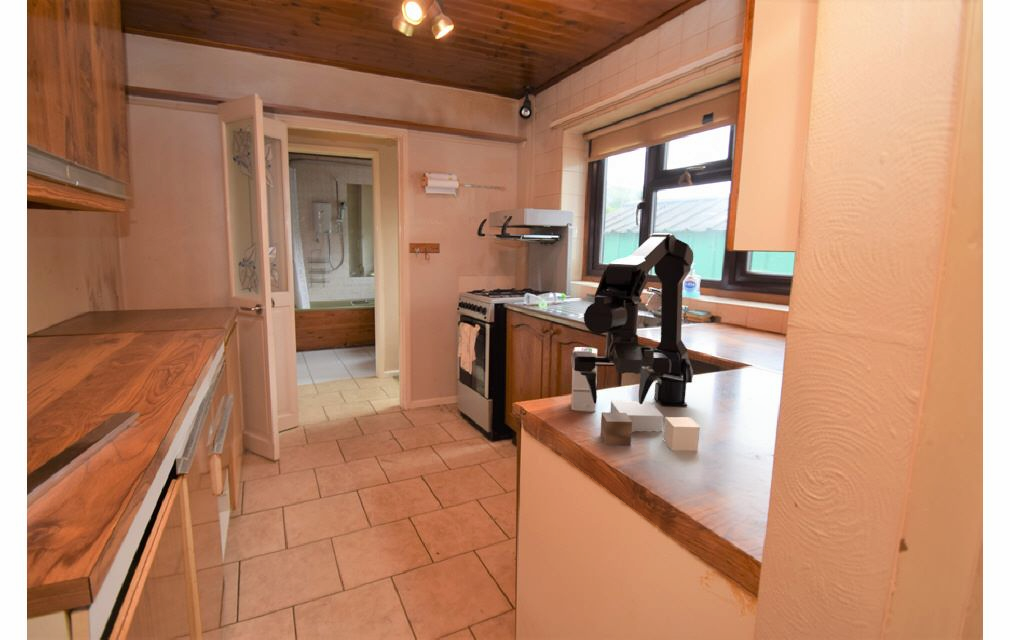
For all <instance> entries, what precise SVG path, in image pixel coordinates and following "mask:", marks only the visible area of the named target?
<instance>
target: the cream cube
mask: <svg viewBox="0 0 1010 640" xmlns="http://www.w3.org/2000/svg"><path fill="white" fill-rule="evenodd" d="M663 427H664V428H663V439H664V440H665V441H664V440H663V441H664V442H665V444H666V443H667V444H668V445H667V444H666V445H667V447H668V448H669V449H670V448H671V449H670V450H671V451H672V450H675V451H676V452H678V451H677V450H684V451H683V452H687V451H686V450H690V451H689V452H698V451H699V441H700V431H701V427H700V426H699V425H698V424H697V423H696V422H695V421H694V420H693V419H692V418H691V417H685V416H684V417H683V416H681V417H679V416H677V417H676V416H665V417H664V425H663ZM692 450H693V451H692Z"/></svg>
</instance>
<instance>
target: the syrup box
mask: <svg viewBox="0 0 1010 640" xmlns="http://www.w3.org/2000/svg"><path fill="white" fill-rule="evenodd" d="M574 351H586V352H592V354H593V355H594V356H598V348H595V347H587V346H585V347H584V346H579V347H578V346H577V347H574V348H573V350H572V353H573V352H574ZM571 368H572V369H571V371H572V372H571V401H570V402H571V407H570V408H571V411H572V410H573V411H577V412H588V413H589V412H590V413H594V412H596V406H597V402H596V403H594V402H593V399H592V395H591V392H590V389H589V385H588V382H587V379H586V377H585V375H581V374H580V372H579V371H574V369H573V367H571ZM594 371H595V372H596V385H597V383H598V382H597V380H598V379H597V378H598V366H595V368H594Z"/></svg>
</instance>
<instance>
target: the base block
mask: <svg viewBox="0 0 1010 640" xmlns="http://www.w3.org/2000/svg"><path fill="white" fill-rule="evenodd" d="M609 413H626V414H627V415H628V417H629V418H630V419H631V421H632V431H650V432H649V433H652V432H651V431H662V432H663V430H664V428H663V427H664V415H663V414H662V413H661V411H660V410H658V408H657V407H656V406H655V405H654V404H653V403H652V402H651V401H645V400H644V401H643V403H642V404H639V400H638V401H636V400H635V401H634V400H633V401H629V400H628V401H627V400H611V401H610V412H609Z"/></svg>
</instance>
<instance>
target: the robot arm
mask: <svg viewBox="0 0 1010 640" xmlns="http://www.w3.org/2000/svg"><path fill="white" fill-rule="evenodd" d="M693 262H694V251H693V250H692V248H691V247H690V245H689V244H688V243H686V242H684V241H682V240H680V239H678V238H676V236H675V235H674V234H671V233H669V232H668V233H666V232H665V233H662V232H658V233H655V232H654V233H652V234H649V235H648V237H647V240H645V241H644V242H643V243H642V244H641V245H640V246H639V247H638V248H637V249H636V250H635V251H634V252H632V253H631V254H630V255H629V256H627V257H623V258H618V259H615V260H614V261H610V263H608V264H607V266H606V267H605V269H604V271H603V273H602V276H601V278H600V280H599V283H598V286H597V288H596V291H595V293H594V301H593V303H591V304H590V305H588V306H587V308H586V309H585V311H584V313H583V321H584V325H585V327H586V329H588V330H589V332H591V333H593V334H595V335H603V334H606V339H605V341H606V343H605V350H604V352H605V353H604V355H605V356H598V355H597V356H594V355H593V354H592V352H586V351H574V352H573V351H572V353H571V358H570V359H571V360H570V365H571V366H572V367H573V369H574V371H579V372H580V374H581V375H585V377H586V379H587V382H588V385H589V389H590V392H591V395H592V399H593V402H594V403H596V404H597V401H598V400H597V397H598V395H597V393H598V392H597V384H596V372H595V371H594V368H595V366H597V367H614V370H615V372H616V373H617V374H618V373H619V374H622V375H623V374H626V373H627V374H629V373H630V374H634V375H638V374H640V375H639V385H638V386H639V387H638V401H639V404H642V403H643V401H645V399H646V397H647V394H648V393H649V390H650V388H651V386H652V385H653V383H654V381H656V379H657V382H655V385H654V394H653V395H654V396H653V399H655V400H656V401H657V402H658V403H659V404H660V405H661V406H664V407H665V406H667V407H670V406H671V407H687V406H688V403H687V402H686V392H687V391H686V390H687V384H691V383H693V377H694V369H693V368H692V365H691V362H690V361H691V360H690V359H689V350H688V348H687V346H686V345H685V344H684V342H683V340H682V327H683V325H682V323H683V322H682V319H683V317H682V316H683V285H684V281H685V279H686V278H687V276H688V275H689V273H690V272H691V267H692V265H693ZM653 268H654V269H653ZM652 269H653V270H654V274H655V276H656V277H657V279H658V281H659V282H660V283H661V295H660V296H661V297H660V298H661V301H660V303H661V305H660V310H661V311H660V342H659V343H658V345H657V346H656V347H655V348H654V347H653V346H646V345H645V346H640V345H639V335H638V333H637V332H638V322H639V321H638V320H639V319H638V317H639V304H640V303H642V298H641V295H642V293H643V291H644V289H645V287H646V285H647V284H648V282H649V276H648V273H649V272H650V271H651V270H652ZM572 367H571V368H572Z"/></svg>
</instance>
